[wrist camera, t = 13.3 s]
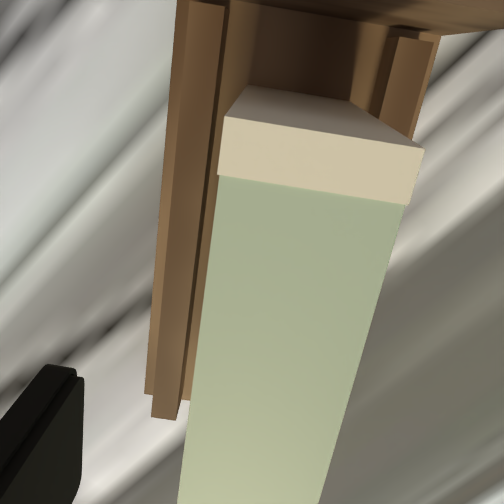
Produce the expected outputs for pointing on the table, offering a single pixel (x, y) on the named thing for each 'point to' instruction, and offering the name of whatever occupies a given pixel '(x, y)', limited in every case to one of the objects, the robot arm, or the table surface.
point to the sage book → (289, 291)
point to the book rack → (282, 78)
